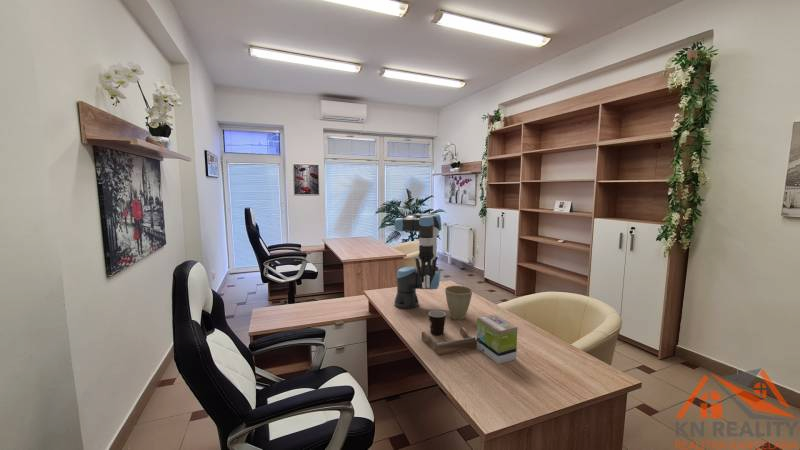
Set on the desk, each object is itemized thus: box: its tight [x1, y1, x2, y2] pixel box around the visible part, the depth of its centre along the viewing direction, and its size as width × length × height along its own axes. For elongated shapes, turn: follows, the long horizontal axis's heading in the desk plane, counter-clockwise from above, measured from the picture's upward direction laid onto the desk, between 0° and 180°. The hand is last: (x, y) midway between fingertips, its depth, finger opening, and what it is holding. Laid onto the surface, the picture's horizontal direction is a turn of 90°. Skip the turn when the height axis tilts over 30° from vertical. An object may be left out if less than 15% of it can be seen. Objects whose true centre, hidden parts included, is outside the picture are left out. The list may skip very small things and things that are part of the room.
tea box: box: [476, 314, 518, 365], centre depth 138 cm, size 15×10×15 cm
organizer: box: [421, 325, 478, 356], centre depth 147 cm, size 16×22×5 cm
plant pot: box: [444, 285, 473, 320], centre depth 178 cm, size 15×15×16 cm
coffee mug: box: [428, 309, 447, 337], centre depth 160 cm, size 12×9×10 cm
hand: (425, 287), depth 173 cm, fingers open, 2 cm apart
